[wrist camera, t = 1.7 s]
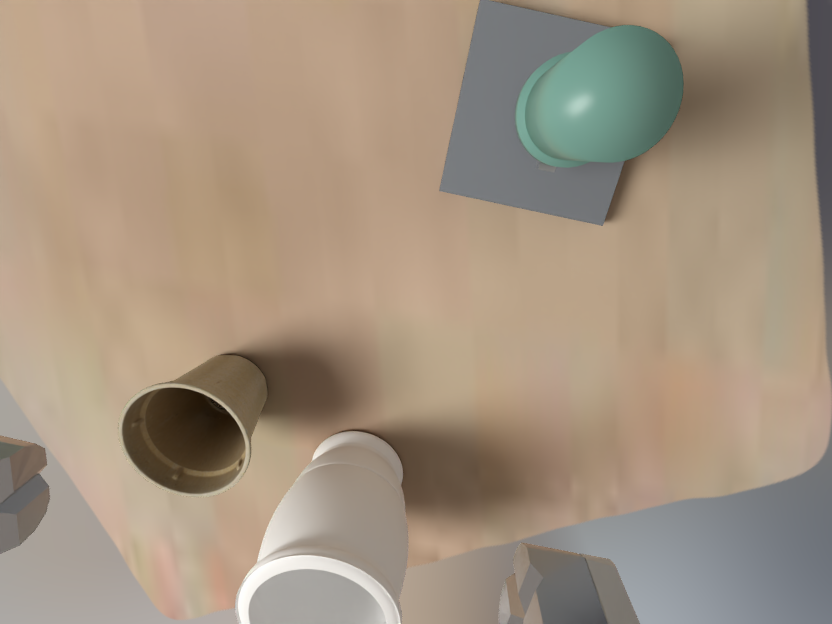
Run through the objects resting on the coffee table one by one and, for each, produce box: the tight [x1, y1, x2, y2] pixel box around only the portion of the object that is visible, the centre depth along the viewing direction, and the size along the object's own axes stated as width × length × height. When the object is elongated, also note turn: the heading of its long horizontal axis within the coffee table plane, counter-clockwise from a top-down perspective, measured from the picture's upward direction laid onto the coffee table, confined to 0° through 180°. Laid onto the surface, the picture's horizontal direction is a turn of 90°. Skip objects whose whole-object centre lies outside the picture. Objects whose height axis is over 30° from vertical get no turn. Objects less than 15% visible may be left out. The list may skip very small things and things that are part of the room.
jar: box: [235, 431, 408, 624], centre depth 36 cm, size 11×10×15 cm
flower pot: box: [118, 355, 267, 498], centre depth 37 cm, size 9×9×9 cm
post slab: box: [440, 0, 624, 226], centre depth 32 cm, size 12×12×2 cm
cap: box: [515, 25, 684, 168], centre depth 22 cm, size 6×6×8 cm
